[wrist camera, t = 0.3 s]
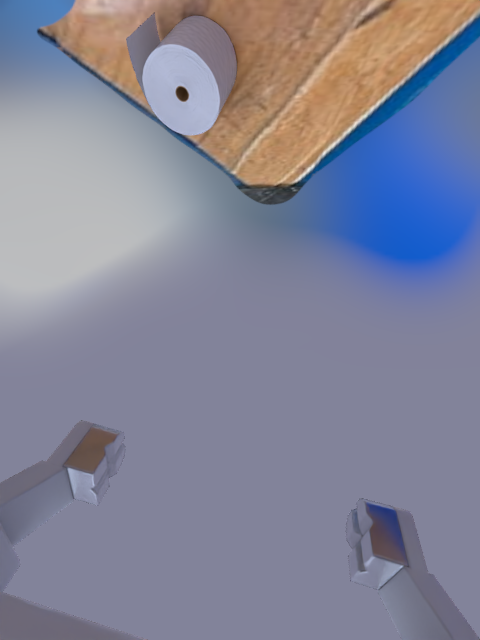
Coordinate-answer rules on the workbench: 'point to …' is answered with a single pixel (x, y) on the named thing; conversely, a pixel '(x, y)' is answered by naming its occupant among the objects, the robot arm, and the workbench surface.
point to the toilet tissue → (184, 71)
